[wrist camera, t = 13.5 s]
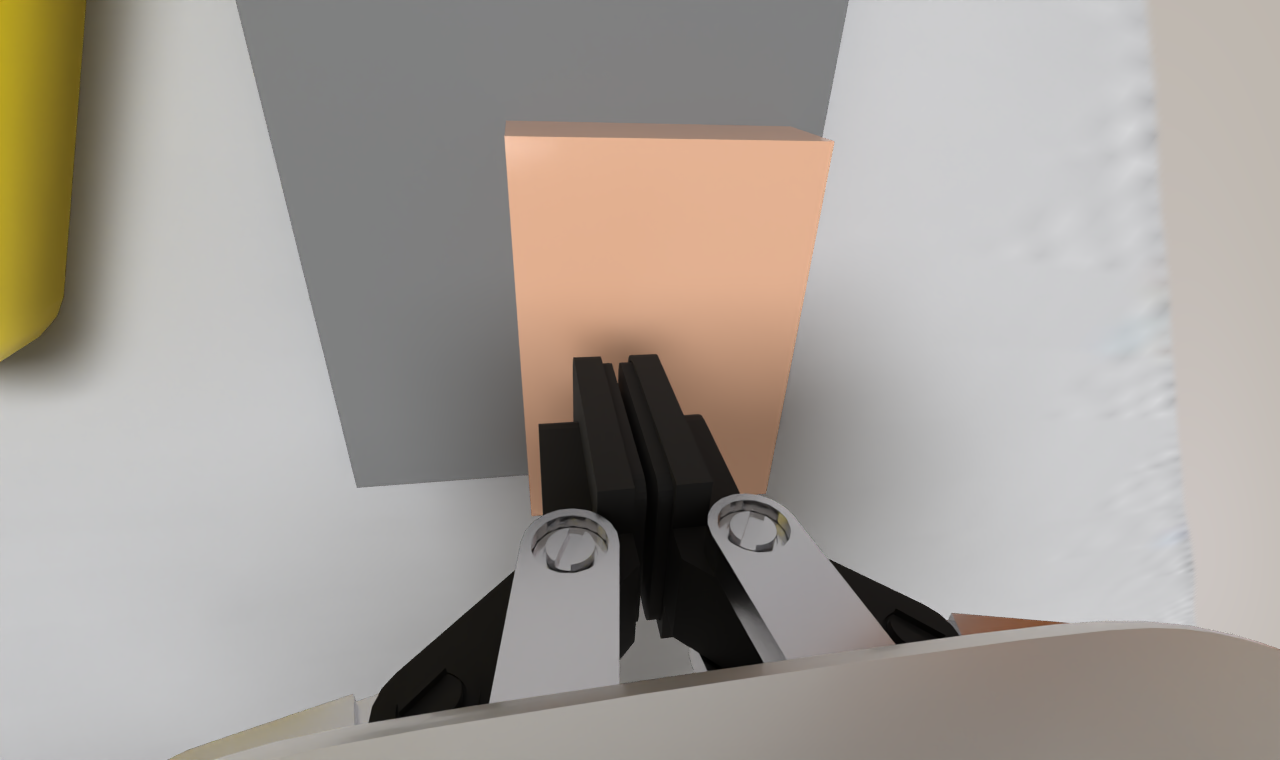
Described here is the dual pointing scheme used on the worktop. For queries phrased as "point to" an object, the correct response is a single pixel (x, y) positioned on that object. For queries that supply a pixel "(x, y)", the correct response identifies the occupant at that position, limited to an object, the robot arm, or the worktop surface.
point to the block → (665, 267)
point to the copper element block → (36, 160)
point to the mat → (478, 177)
